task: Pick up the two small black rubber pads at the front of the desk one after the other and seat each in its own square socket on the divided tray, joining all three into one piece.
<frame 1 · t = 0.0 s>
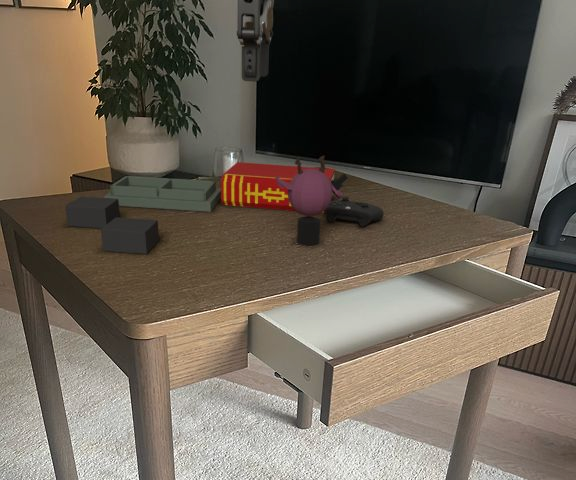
hand: (255, 78, 77), 21 cm above the table, tool pointing down, fingers open, 8 cm apart
pad a: (132, 246, 83), on the table
pad b: (94, 222, 92), on the table
figurine: (307, 243, 88), on the table
game controller: (350, 222, 98), on the table
divided tray: (165, 201, 104), on the table
book: (279, 202, 108), on the table
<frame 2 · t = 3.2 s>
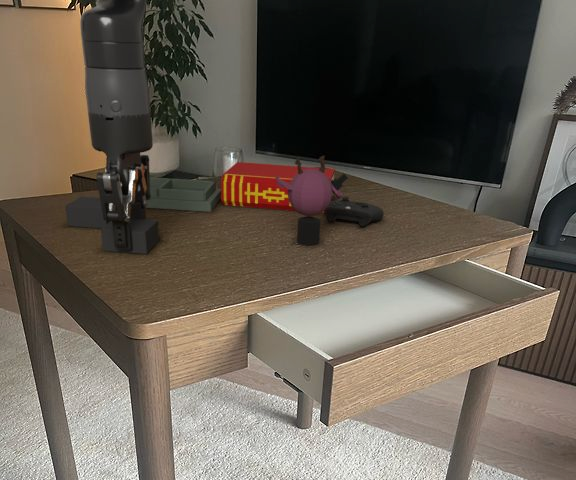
hand: (131, 241, 83), 1 cm above the table, tool pointing down, fingers closed on pad a, 6 cm apart
pad a: (132, 245, 83), on the table, touching gripper
everything else where it was.
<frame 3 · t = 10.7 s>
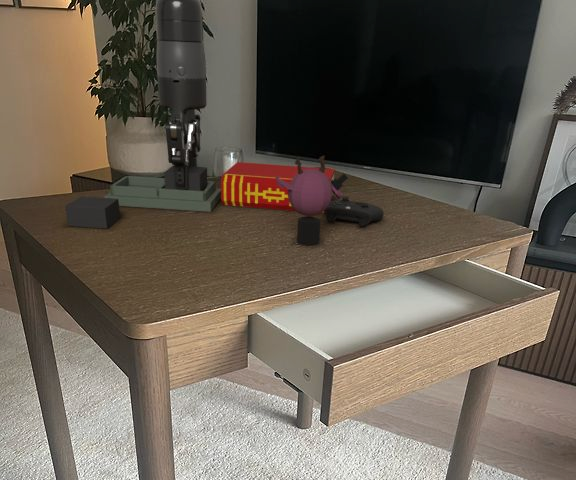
hand: (186, 184, 103), 3 cm above the table, tool pointing down, fingers closed on pad a, 6 cm apart
pad a: (186, 187, 103), point 2 cm above the table, touching gripper
everything else where it was.
when the fingers open (4 cm above the table, at t = 19.1 s): pad a drops 2 cm, resting on divided tray.
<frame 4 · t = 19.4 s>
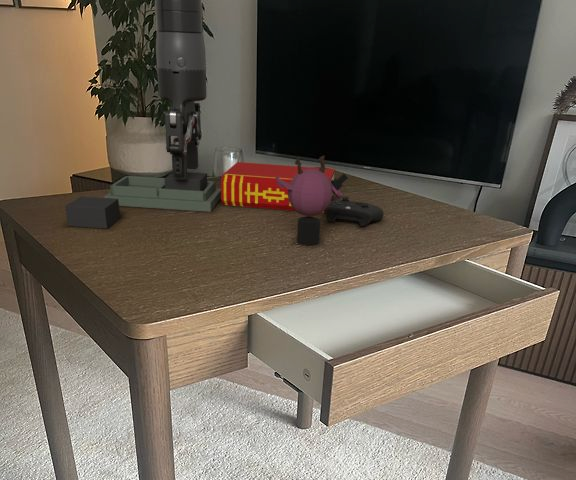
hand: (186, 173, 102), 5 cm above the table, tool pointing down, fingers open, 8 cm apart
pad a: (187, 193, 103), point 1 cm above the table, touching divided tray
everything else where it was.
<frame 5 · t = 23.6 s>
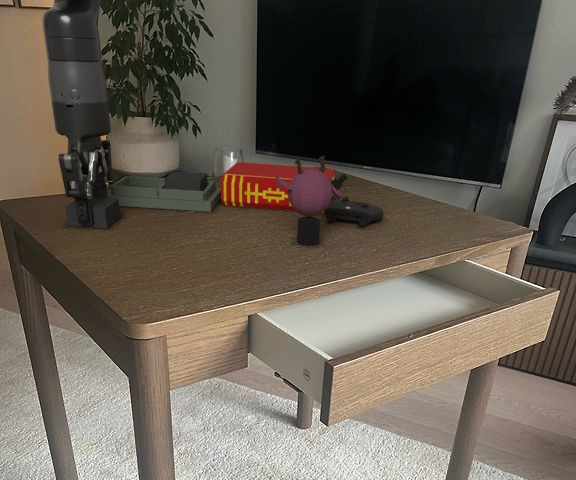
hand: (94, 217, 92), 1 cm above the table, tool pointing down, fingers closed on pad b, 6 cm apart
pad b: (94, 222, 92), on the table, touching gripper
everything else where it was.
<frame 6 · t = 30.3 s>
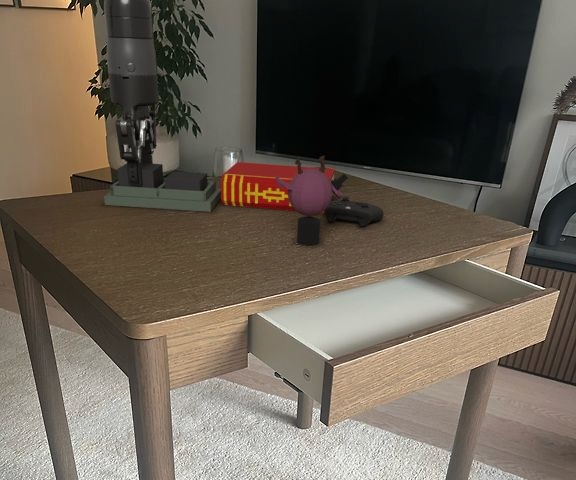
hand: (141, 180, 103), 3 cm above the table, tool pointing down, fingers closed on pad b, 6 cm apart
pad b: (141, 184, 103), point 3 cm above the table, touching gripper
everything else where it was.
when the fingers open (4 cm above the table, at t = 38.7 s): pad b drops 2 cm, resting on divided tray.
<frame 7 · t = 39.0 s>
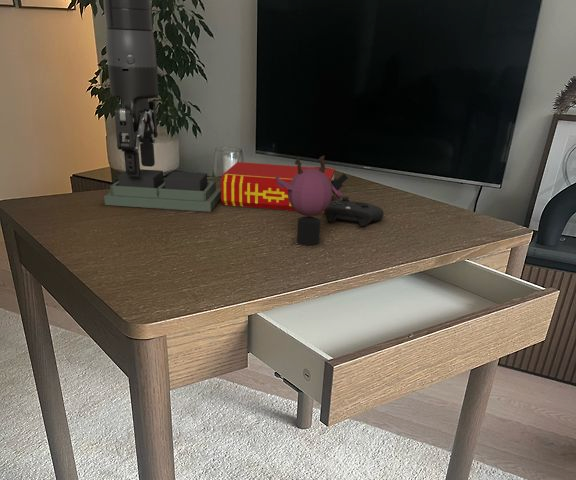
hand: (141, 170, 102), 5 cm above the table, tool pointing down, fingers open, 8 cm apart
pad b: (142, 191, 104), point 1 cm above the table, touching divided tray
everything else where it was.
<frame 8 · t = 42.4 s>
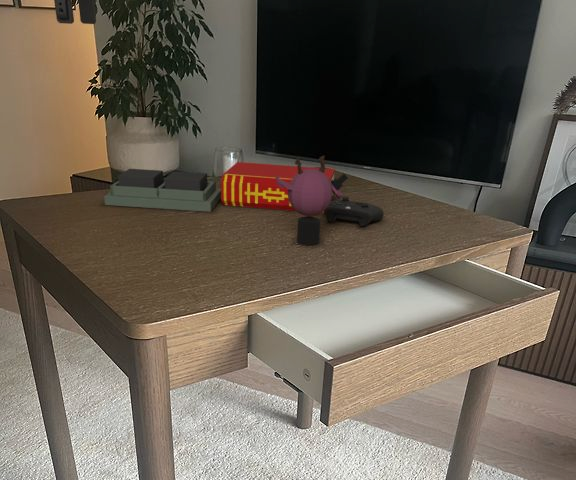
hand: (77, 23, 87), 26 cm above the table, tool pointing down, fingers open, 8 cm apart
nothing on the table moved.
at the end: pad a 0.0 cm from the target spot on the divided tray, point 1.5 cm above the divided tray's base; pad b 0.1 cm from the target spot on the divided tray, point 1.5 cm above the divided tray's base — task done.
